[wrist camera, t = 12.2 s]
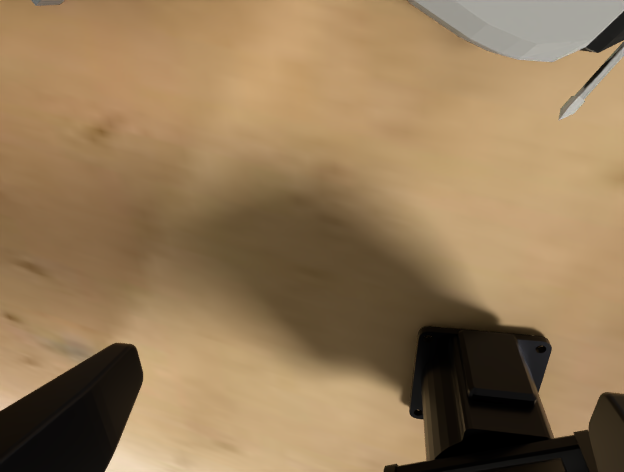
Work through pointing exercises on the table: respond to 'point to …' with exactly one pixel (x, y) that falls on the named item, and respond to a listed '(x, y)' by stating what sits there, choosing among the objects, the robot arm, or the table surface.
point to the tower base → (47, 2)
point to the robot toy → (536, 30)
